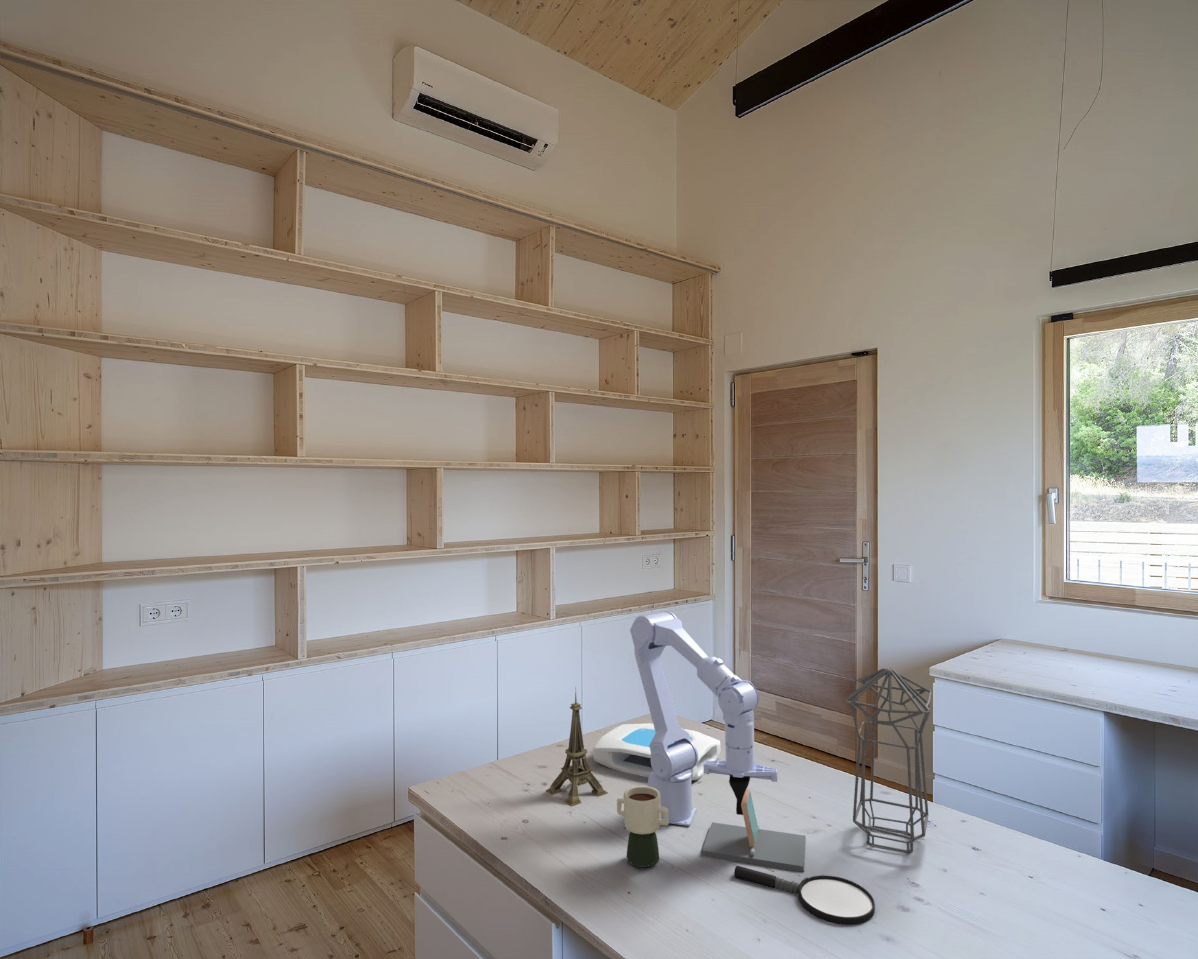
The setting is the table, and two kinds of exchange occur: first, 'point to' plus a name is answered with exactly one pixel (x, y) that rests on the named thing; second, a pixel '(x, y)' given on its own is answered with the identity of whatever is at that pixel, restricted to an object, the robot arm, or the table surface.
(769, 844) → the mat
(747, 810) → the tile
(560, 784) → the eiffel tower
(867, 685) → the geometric lantern
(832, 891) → the magnifying glass
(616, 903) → the table surface
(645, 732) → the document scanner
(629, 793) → the character mug
